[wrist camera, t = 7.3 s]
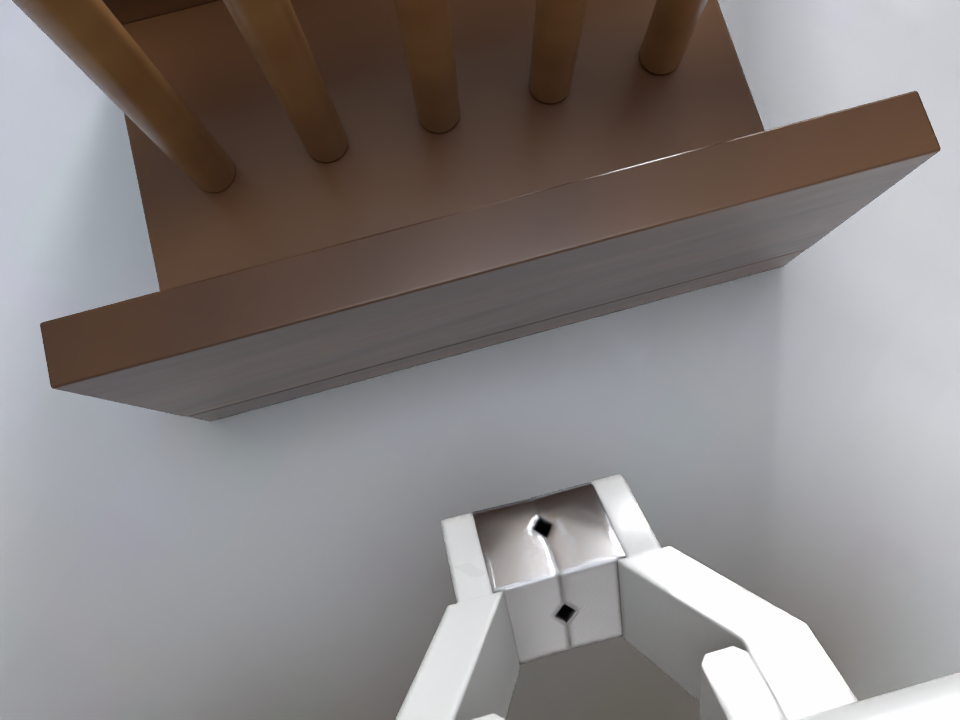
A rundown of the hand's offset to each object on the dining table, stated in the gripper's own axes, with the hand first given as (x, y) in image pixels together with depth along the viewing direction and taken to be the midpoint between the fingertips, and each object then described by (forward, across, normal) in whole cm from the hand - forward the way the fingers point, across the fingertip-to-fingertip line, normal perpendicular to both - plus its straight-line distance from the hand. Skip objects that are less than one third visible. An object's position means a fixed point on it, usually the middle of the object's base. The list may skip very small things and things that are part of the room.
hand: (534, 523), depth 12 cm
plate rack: (+12, -1, -2) cm, 12 cm away
